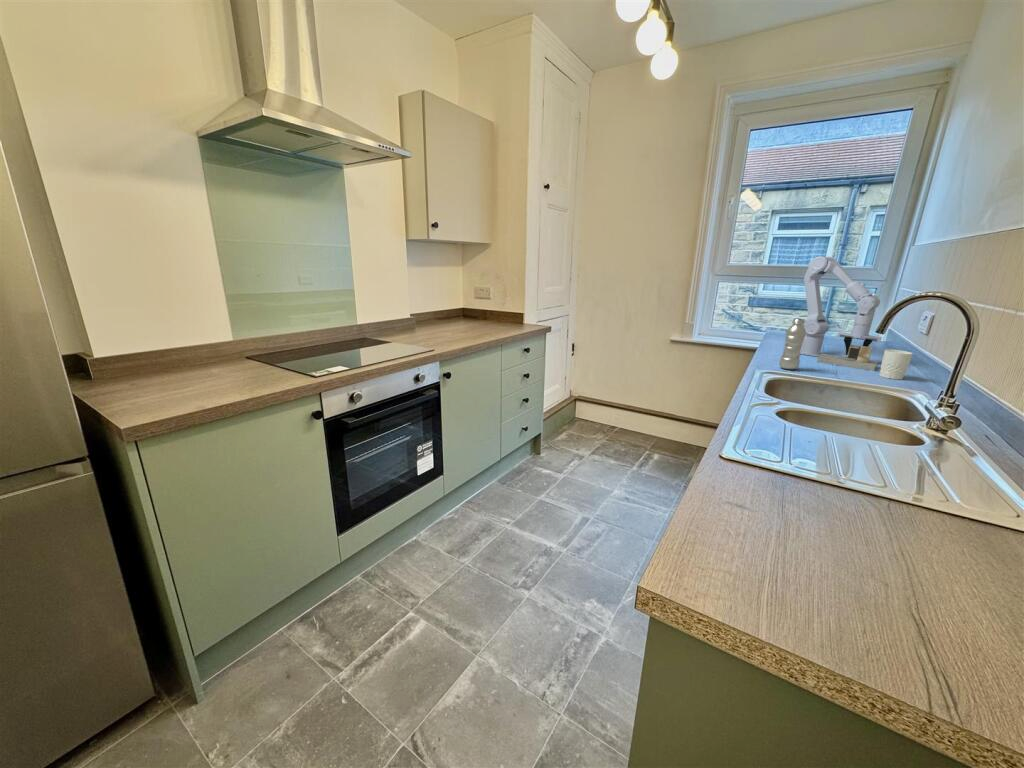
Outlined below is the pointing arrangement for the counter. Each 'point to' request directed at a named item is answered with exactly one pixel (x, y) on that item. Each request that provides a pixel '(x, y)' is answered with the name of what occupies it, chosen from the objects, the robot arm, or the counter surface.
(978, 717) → the counter surface
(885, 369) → the white cup
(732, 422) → the counter surface
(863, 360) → the tan upright block
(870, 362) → the rail
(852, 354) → the loose finger
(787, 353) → the plastic bottle
